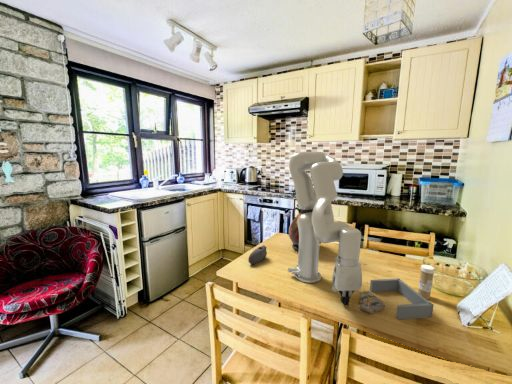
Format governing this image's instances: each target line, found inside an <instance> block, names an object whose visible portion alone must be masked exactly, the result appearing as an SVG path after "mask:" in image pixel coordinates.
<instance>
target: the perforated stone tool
mask: <svg viewBox="0 0 512 384" xmlns="http://www.w3.org/2000/svg"><path fill="white" fill-rule="evenodd" d="M267 252H268V251H267V246H266V245H261V246H259V247H256V249H253V251H252V252H251V253H250V254H249V256H248V263H249V264H251V265H253V264H254V265H255V264H256V263H260V262H261V261H262V260H264V259H265V258H266V257H267V255H268V253H267Z"/></svg>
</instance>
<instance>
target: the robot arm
mask: <svg viewBox="0 0 512 384" xmlns="http://www.w3.org/2000/svg"><path fill="white" fill-rule="evenodd" d="M288 166H289V172H290V175H291V178H292V181H293V184H294V192H295V195H296V196H295V197H296V203H297V204H298V206H299V209H302V210H312V209H313V212H310V213H305V214H302V215H301V216H300V217H299V218H298V230H299V252H298V258H297V259H298V260H297V264H296V266H294V267H288V268H287V272H288V273H291V274H292V275H294V277H295V278H296V279H297V280H298V281H300V282H303V283H308V284H313V283H315V284H316V283H318V282H320V280H321V279H322V274H321V273H320V272H319V260H320V244H319V241H320V242H321V244H329V243H334V242H338V248H337V249H338V251H337V256H336V257H334V258H333V259H334V262H335V264H334V266H333V272H332V281H331V282H332V283H331V284H332V287H331V290H332V291H333V292H338V293H339V294H340V300H339V301H340V303H341V304H342V305H343V306H344V307H346V306H347V307H349V306H350V305H349V303H350V302H351V297H352V295H353V294H354V293H355V292H358V291H361V289H362V285H363V272H362V264H361V263H359V262H360V254H361V253H360V252H361V243H362V232H361V230H359V229H358V228H355V227H352V226H351V225H349V224H347V223H346V222H344V221H335V216H334V212H333V207H332V202H333V201H334V200H336V199H337V197H338V192H337V188H336V185H335V184H336V183H335V181H339V180H341V179H342V177H343V175H344V170H343V167H342V165H341V163H340V162H338V160H336V159H335V158H333V157H332V156H330V155H329V154H327V153H326V152H324V151H323V152H322V151H300V152H299V151H298V152H295V153H293V154H292V155H291V156H290V160H289V165H288ZM307 171H309V173H310V175H309V174H308V172H307Z"/></svg>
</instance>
